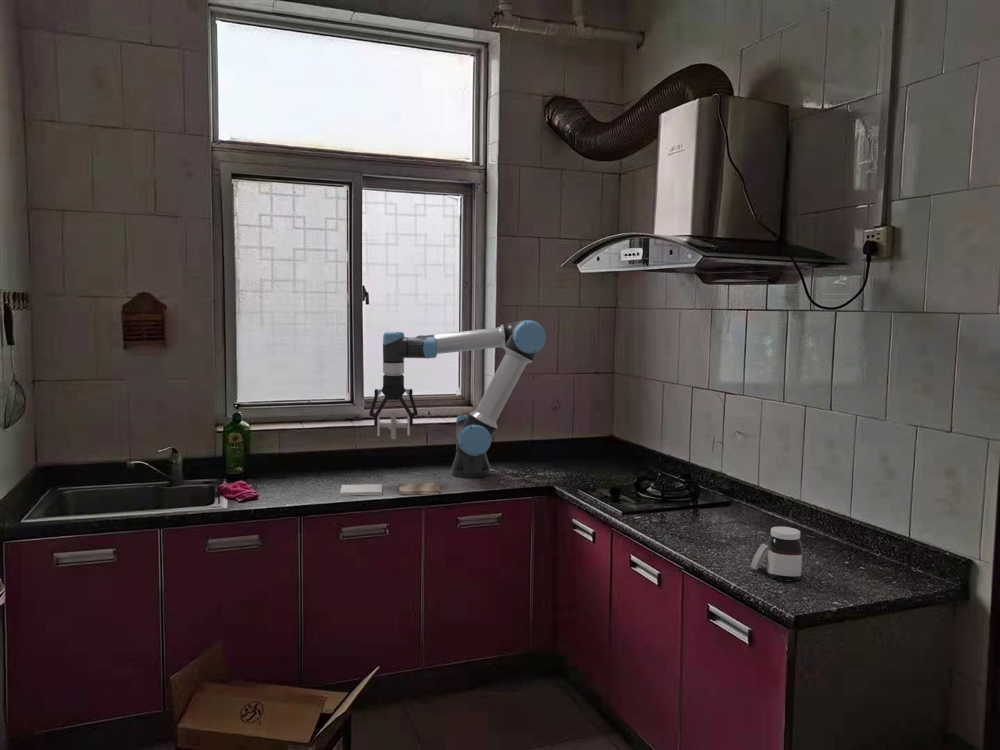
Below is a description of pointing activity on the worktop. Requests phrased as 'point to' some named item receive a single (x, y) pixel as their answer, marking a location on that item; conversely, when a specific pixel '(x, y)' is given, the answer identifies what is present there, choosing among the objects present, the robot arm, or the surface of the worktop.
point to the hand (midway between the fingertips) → (393, 435)
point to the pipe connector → (393, 425)
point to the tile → (361, 489)
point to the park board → (419, 488)
